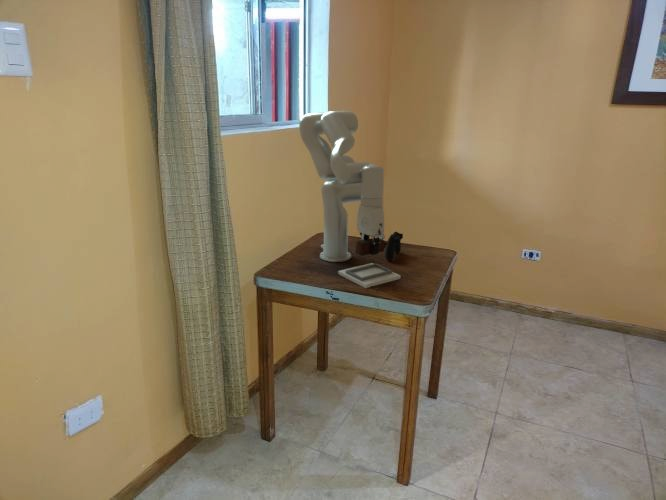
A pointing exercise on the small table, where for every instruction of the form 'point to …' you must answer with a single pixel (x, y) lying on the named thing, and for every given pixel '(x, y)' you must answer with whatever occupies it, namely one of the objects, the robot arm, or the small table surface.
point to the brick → (367, 247)
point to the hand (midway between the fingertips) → (370, 252)
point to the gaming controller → (393, 245)
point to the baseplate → (369, 275)
